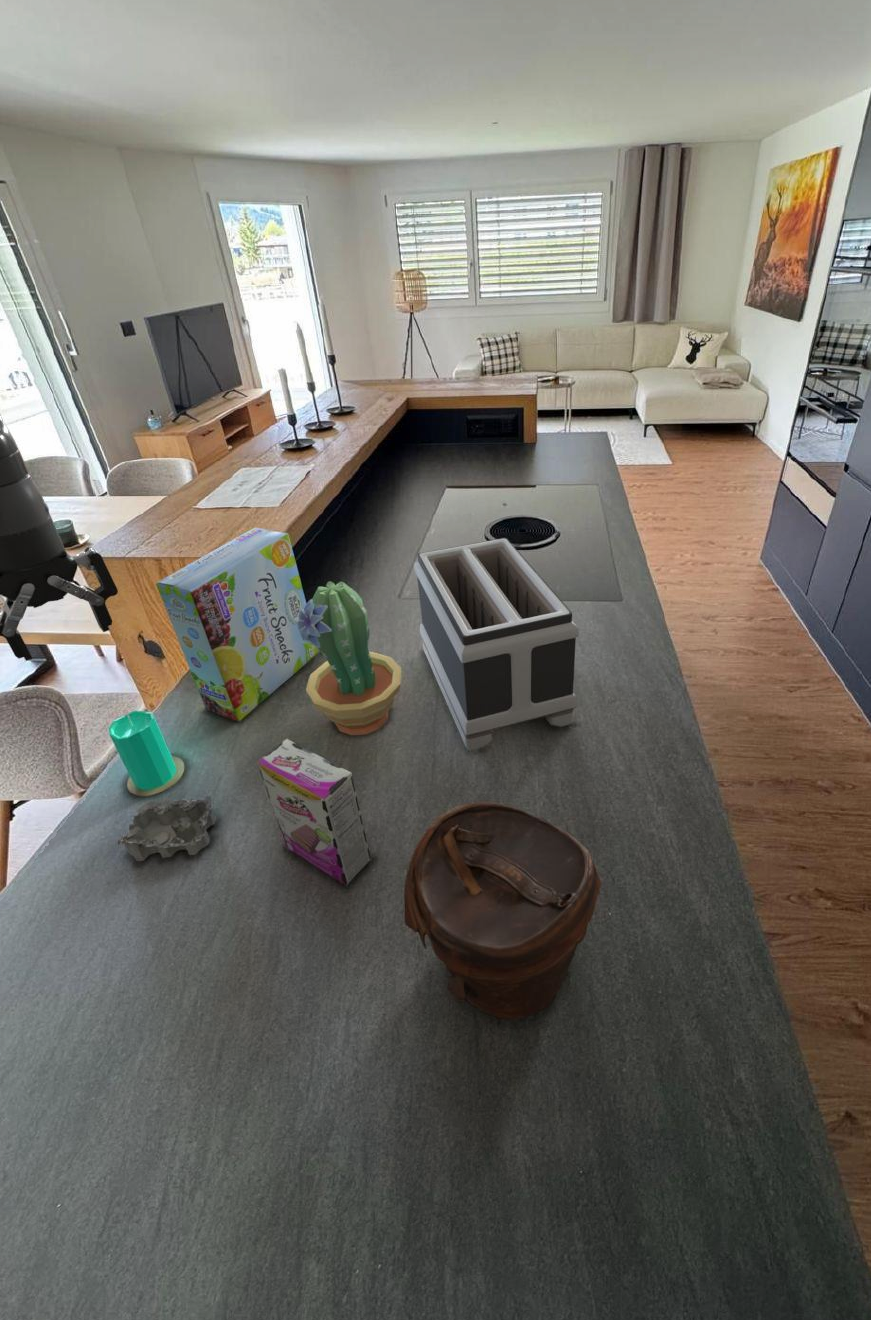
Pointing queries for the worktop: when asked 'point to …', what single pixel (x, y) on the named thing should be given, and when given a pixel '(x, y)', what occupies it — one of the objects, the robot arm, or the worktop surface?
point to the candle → (142, 749)
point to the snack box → (239, 620)
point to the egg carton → (169, 828)
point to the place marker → (176, 777)
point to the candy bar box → (316, 810)
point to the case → (501, 904)
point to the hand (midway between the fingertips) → (67, 642)
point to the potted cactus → (347, 662)
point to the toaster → (495, 639)
